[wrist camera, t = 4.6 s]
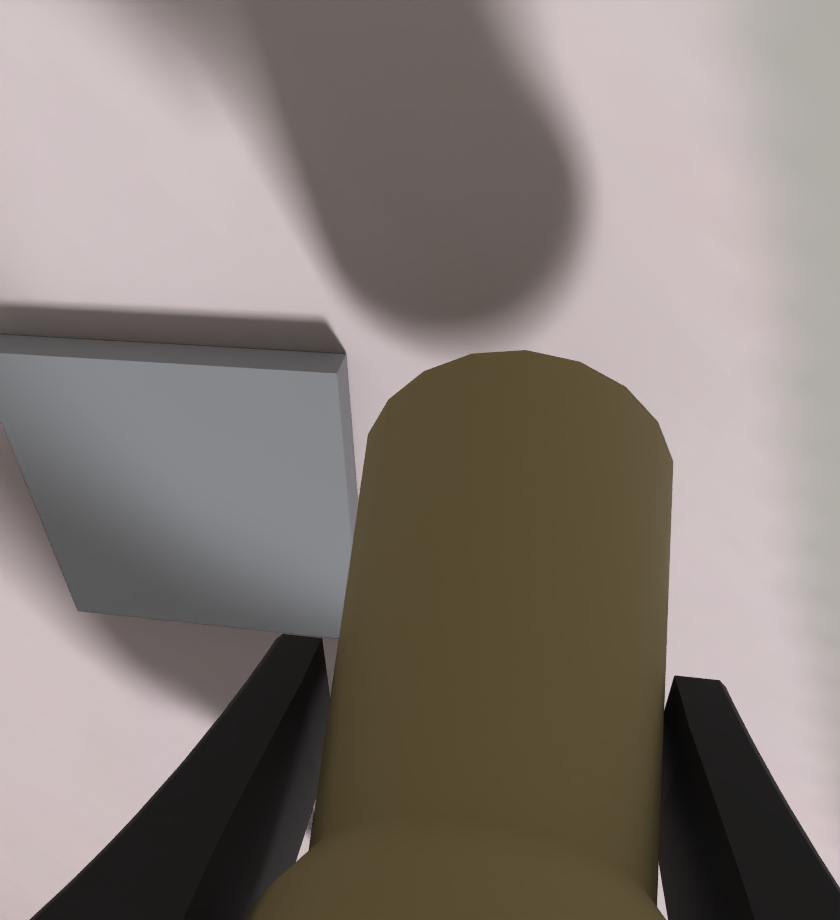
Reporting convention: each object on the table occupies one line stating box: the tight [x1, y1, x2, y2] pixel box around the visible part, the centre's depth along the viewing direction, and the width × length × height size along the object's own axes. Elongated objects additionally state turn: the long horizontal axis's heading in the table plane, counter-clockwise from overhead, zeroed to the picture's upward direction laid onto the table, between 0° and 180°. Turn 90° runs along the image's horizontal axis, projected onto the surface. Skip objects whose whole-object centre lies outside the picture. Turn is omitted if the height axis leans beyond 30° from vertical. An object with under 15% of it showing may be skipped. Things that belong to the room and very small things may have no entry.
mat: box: [0, 334, 358, 639], centre depth 21 cm, size 10×10×1 cm
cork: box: [245, 350, 673, 920], centre depth 10 cm, size 6×6×11 cm
